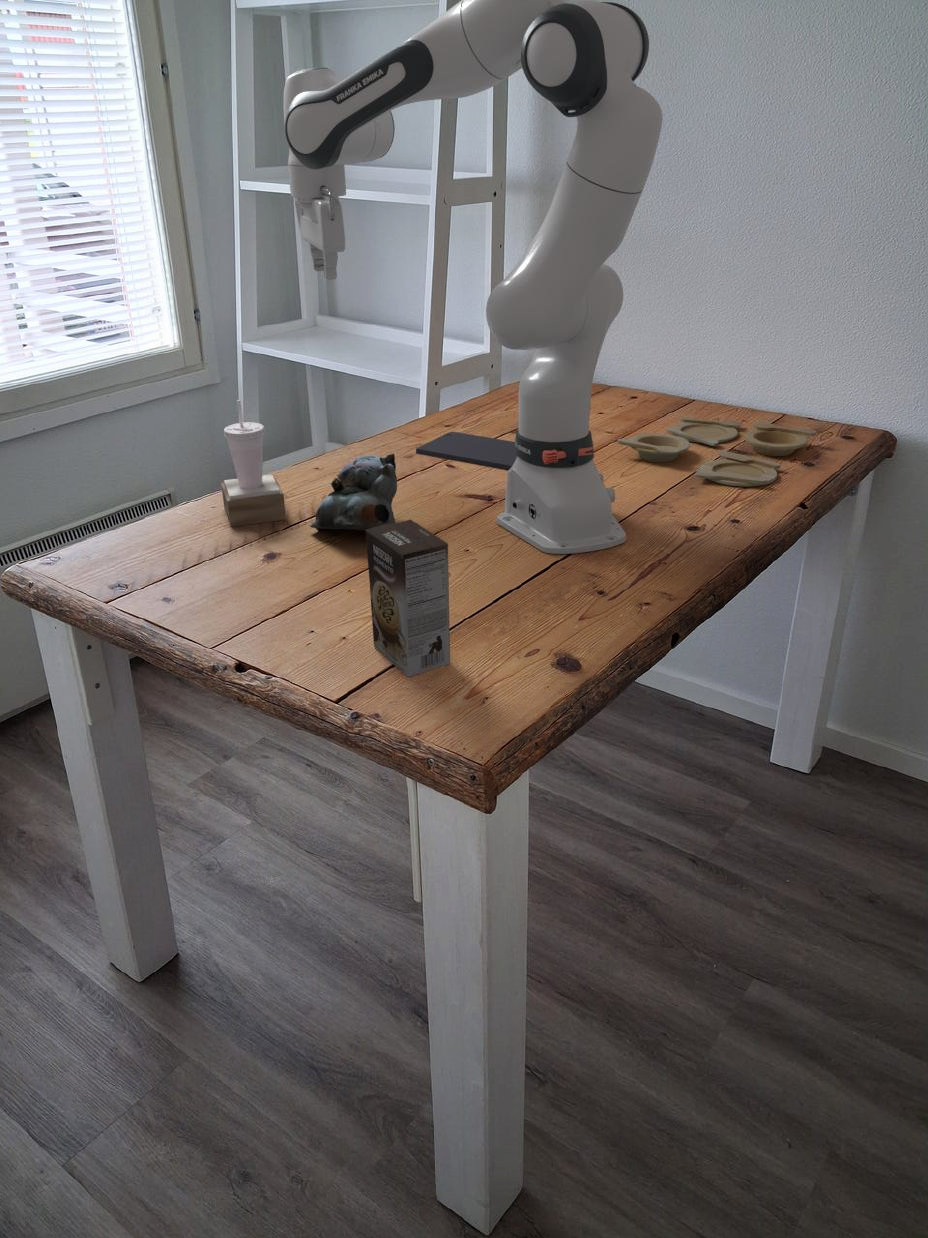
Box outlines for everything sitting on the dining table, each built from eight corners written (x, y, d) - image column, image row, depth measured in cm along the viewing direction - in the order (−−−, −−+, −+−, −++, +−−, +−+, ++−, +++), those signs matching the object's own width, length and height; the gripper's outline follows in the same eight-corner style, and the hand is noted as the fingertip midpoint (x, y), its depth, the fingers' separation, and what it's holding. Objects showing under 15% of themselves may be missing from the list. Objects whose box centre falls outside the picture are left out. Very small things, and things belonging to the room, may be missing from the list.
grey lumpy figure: (298, 527, 161) (314, 441, 161) (364, 541, 167) (380, 459, 167) (336, 530, 148) (354, 437, 148) (407, 545, 155) (423, 456, 154)
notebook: (416, 456, 194) (512, 473, 183) (415, 448, 193) (512, 465, 183) (451, 438, 203) (544, 454, 193) (450, 430, 202) (544, 446, 192)
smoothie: (255, 475, 168) (245, 393, 162) (278, 484, 165) (269, 400, 158) (223, 485, 164) (211, 401, 158) (246, 494, 160) (235, 408, 154)
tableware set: (754, 498, 170) (757, 475, 168) (604, 466, 186) (605, 445, 184) (827, 445, 194) (830, 424, 193) (689, 420, 210) (690, 401, 208)
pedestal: (286, 519, 164) (283, 490, 162) (230, 526, 162) (226, 497, 159) (277, 500, 172) (274, 473, 170) (224, 507, 169) (220, 479, 167)
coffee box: (371, 647, 126) (363, 528, 118) (416, 634, 129) (410, 516, 121) (406, 679, 119) (400, 554, 111) (452, 663, 122) (449, 541, 114)
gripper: (351, 187, 152) (357, 282, 158) (324, 179, 169) (331, 265, 176) (310, 189, 150) (318, 285, 157) (287, 180, 167) (295, 267, 174)
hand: (324, 274), depth 166 cm, fingers open, 8 cm apart
